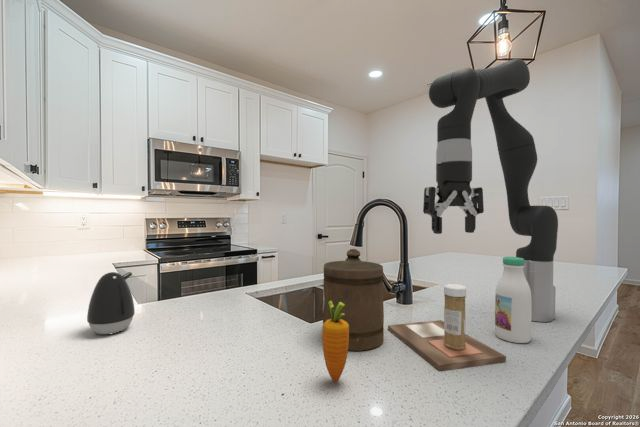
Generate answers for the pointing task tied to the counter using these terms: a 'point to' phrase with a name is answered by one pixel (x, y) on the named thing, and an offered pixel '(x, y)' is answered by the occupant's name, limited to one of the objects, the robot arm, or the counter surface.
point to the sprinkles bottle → (454, 316)
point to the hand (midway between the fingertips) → (453, 233)
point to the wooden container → (356, 299)
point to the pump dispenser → (111, 304)
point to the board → (431, 346)
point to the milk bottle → (513, 303)
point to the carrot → (335, 342)
